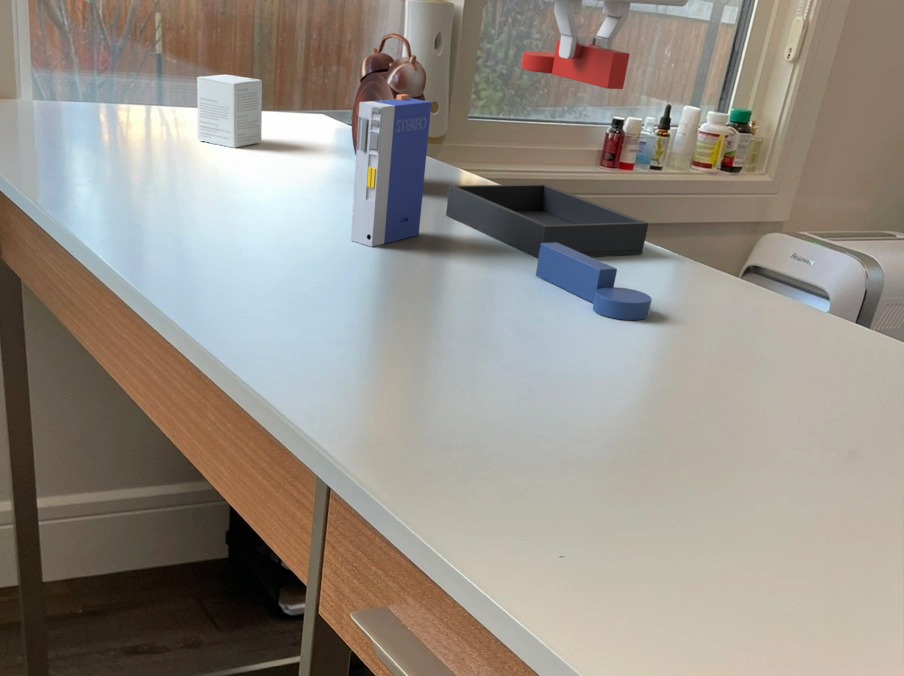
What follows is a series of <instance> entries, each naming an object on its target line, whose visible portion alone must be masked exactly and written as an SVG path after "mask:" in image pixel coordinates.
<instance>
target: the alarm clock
mask: <svg viewBox="0 0 904 676" xmlns="http://www.w3.org/2000/svg"><path fill="white" fill-rule="evenodd" d="M392 38H394V39H397V40H399V41H400V42H401V43H403V45H404V46H405V50H406V56H402V57H399V58H397V59H394V58H393V57H392V56H391V55H389V54H388V53H384V52H383V49H384V46H385V44H386V41H387V40H389V39H392ZM371 53H372V54H370V55H368V56H367V57H365V58H364V59H363V61H362V62H361V64H360V67H359V83H360V84H359V86H358V88H357V91H356V93H355V97H354V101H353V106H352V111H351V136H352V145H353V150H354V154H355V155H354V156H356V150H357V134H358V118H359V103H360V102H369V101H379V100H390V99H396V97H397V95H401V94H406V95H409V98H412V99H417V100H423V101H427V100H426V96H425V94H424V92H425V88H426V83H427V72H426V70H425V68H424V66H423V65H422V64H421V62H419V60H417V56H416V54H412V49H411V44H410V42H409V41H408V39H407V38H406V37H404V36H402V34H398V33H388V34H386V35H383V36H382V37H381V40H380V42H379V45H378V48H376V47H374V48H373V49H372V51H371Z"/></svg>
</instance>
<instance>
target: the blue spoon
mask: <svg viewBox="0 0 904 676" xmlns="http://www.w3.org/2000/svg"><path fill="white" fill-rule="evenodd" d="M536 264H537V265H536V272H535V276H536V277H538V278H540V279H542V280H545V281H547V282H549V283H550V284H553V285H554V286H557V287H558V288H561V289H563V290H565V291H567V292H568V293H571V294H573V295H575V296H577V297H579V298H581V299H583V300H585V301H587V302H590V303H591V304H592V311H594V312H595V313H596V314H599V315H600V316H603V317H606V318H610V319H614V320H615V319H616V320H621V321H639V320H640V321H641V320H644V319H647V318H648V317H649V314H650V308H651V304H652V300H653V299H652V297H651V296H650V295H649V294H647V293H645V292H644V291H643V292H642V291H640V290H637V289H632V288H626V287H615V283H616V282H615V281H616V277H617V272H618V268H617V267H614V266H612V265H609V264H608V263H605V262H604V261H603V262H602V261H600V260H598V259H596V258H595V257H589V256H587V255H584V254H582V253H580V252H578V251H575V250H573V249H571V248H568V247H566V246H564V245H562V244H559V243H557V242H554V243H541V245H540V251H539V258H537V263H536Z"/></svg>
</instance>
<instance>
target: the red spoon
mask: <svg viewBox="0 0 904 676" xmlns="http://www.w3.org/2000/svg"><path fill="white" fill-rule="evenodd" d="M560 41H561V39H557V40H556V42H555V43H556V45H555V50H554V52H549V51H539V50H525V51H523V53H522V58H521V59H522V60H521V66H520V68H521V69H522V70H525V71H528V72H529V71H530V72H534V73H542V74H551V75H554V76H557V77H561V78H566V79H569V80H573V81H577V82H579V83H580V82H581V83H584V84H589V85H592V86H594V87H595V86H596V87H600V88H603V89H608V90H624V85H625V81H626V75H627V70H628V65H629V60H630V55H631V54H630V52H629V53H628V52H625V51H620V50H616V49H612V48H611V49H607V48H602V47H598V46H593V45H588V43H584V47H583V48H582V50H583V52H582V56H581V58H580V59H566V58H562V57H560V56H559V47H560Z"/></svg>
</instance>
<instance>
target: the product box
mask: <svg viewBox="0 0 904 676" xmlns="http://www.w3.org/2000/svg"><path fill="white" fill-rule="evenodd" d="M196 81H197V83H196V84H197V85H196V86H197V140H198V141H199V140H201V141H205V142H204V143H206V142H209V143H208V144H213V145H218V146H223V147H226V148H227V147H228V148H232V149H233V148H234V149H236V148H241V147H244V146H245V147H246V146H249V145H255V144H259V143H260V144H261V143H262V124H263V123H262V120H263V119H262V117H263V112H262V110H263V109H262V108H263V81H262V79H257V78H252V77H245V76H239V75H232V74H215V75H205V76H204V75H203V76H197V78H196ZM201 141H200V142H201Z"/></svg>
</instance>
